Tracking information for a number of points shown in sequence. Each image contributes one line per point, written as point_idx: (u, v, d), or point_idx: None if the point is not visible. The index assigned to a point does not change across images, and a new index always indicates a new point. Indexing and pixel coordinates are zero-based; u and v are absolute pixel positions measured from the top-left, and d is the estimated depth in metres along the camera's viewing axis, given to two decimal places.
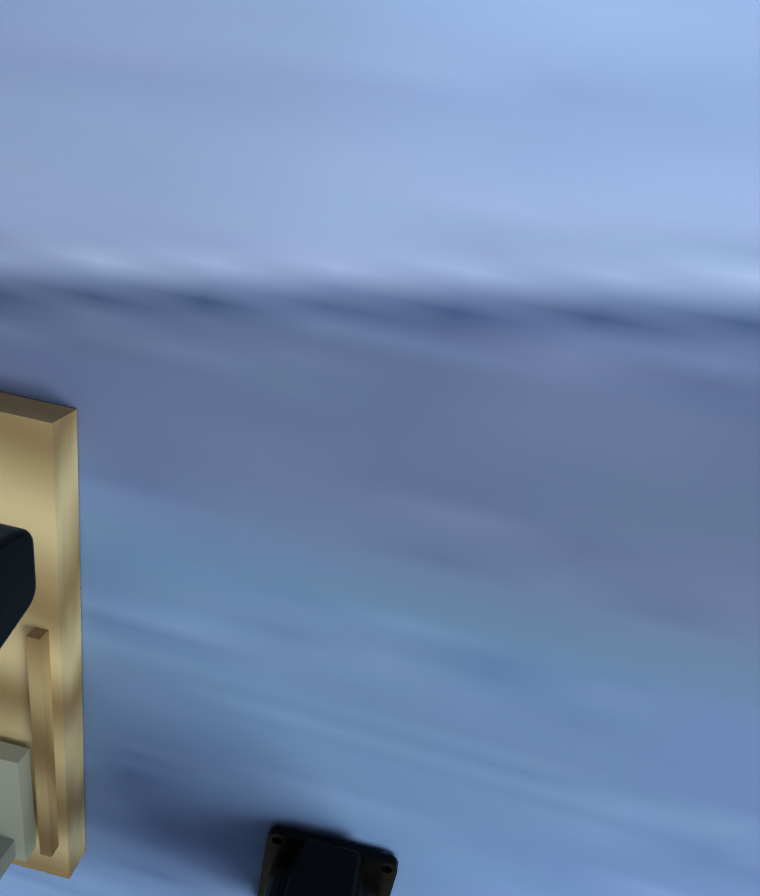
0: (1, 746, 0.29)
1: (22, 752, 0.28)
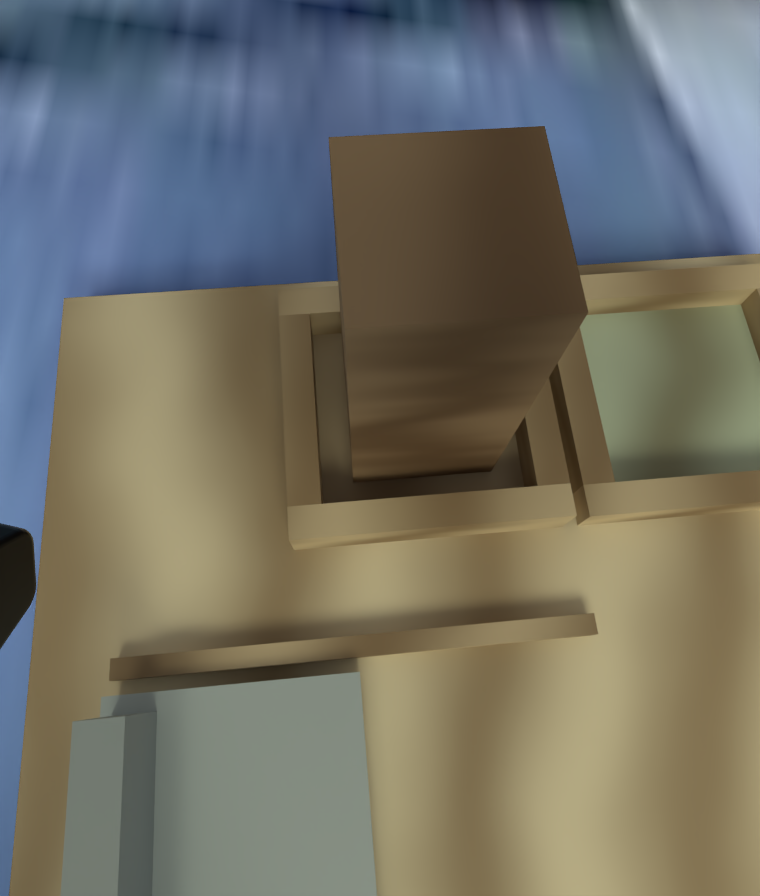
0: None
1: None
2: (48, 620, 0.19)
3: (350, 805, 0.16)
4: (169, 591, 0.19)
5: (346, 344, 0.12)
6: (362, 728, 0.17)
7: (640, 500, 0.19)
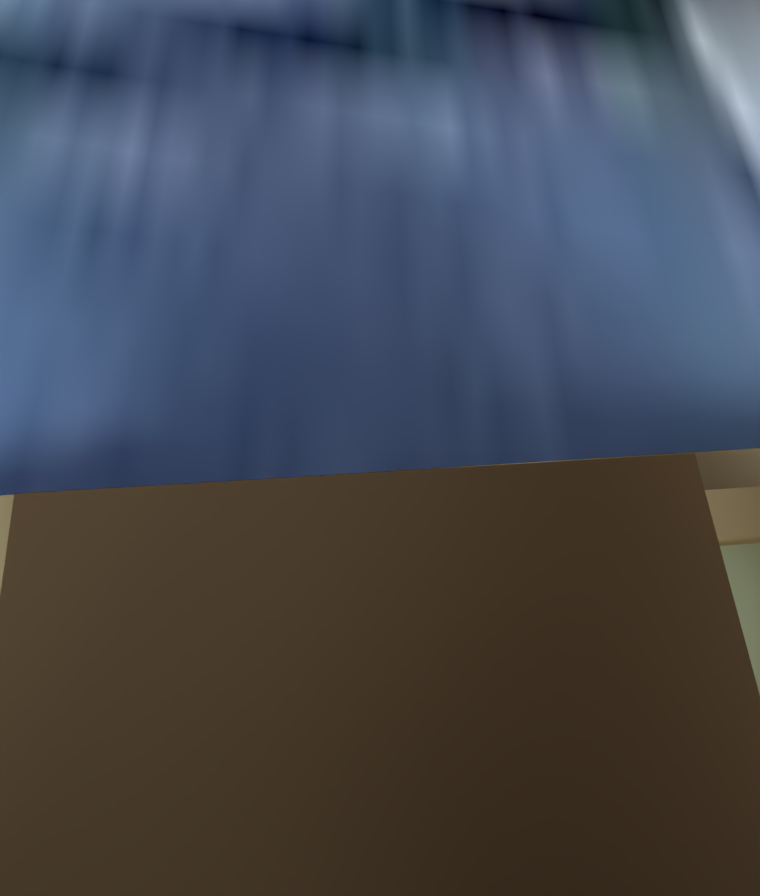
0: None
1: None
2: None
3: None
4: None
5: None
6: None
7: None
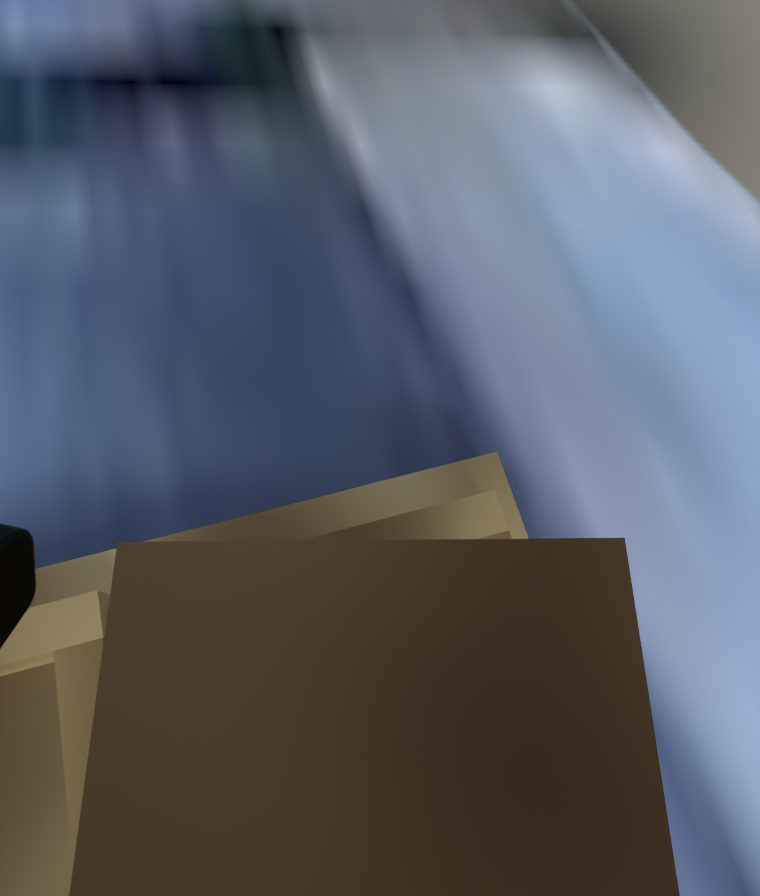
0: None
1: None
2: None
3: None
4: None
5: None
6: None
7: None
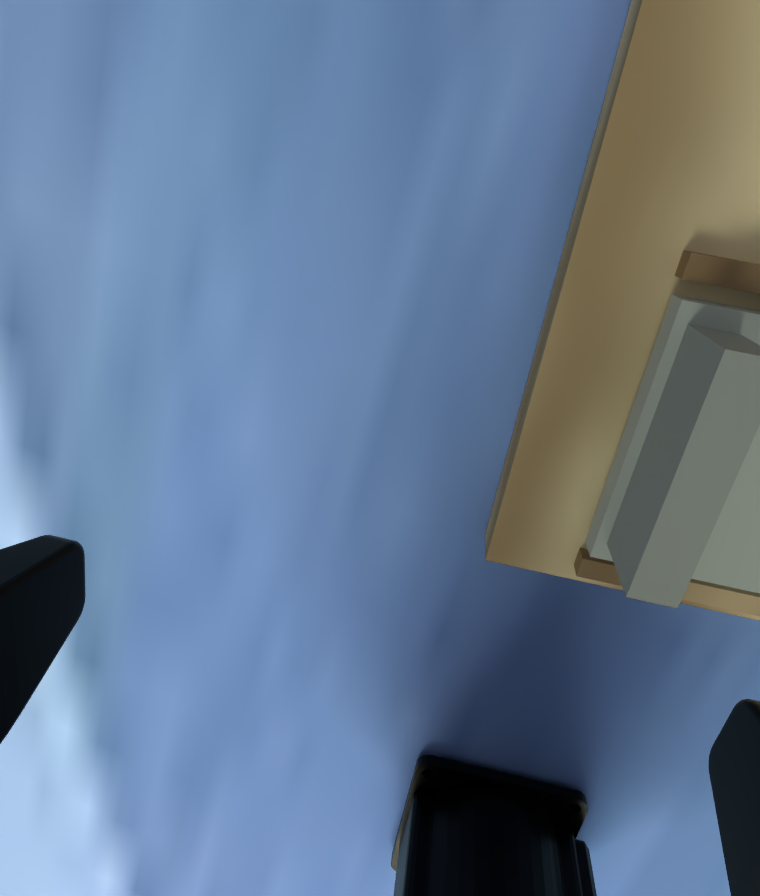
0: None
1: None
2: (612, 175, 0.14)
3: None
4: None
5: None
6: None
7: None
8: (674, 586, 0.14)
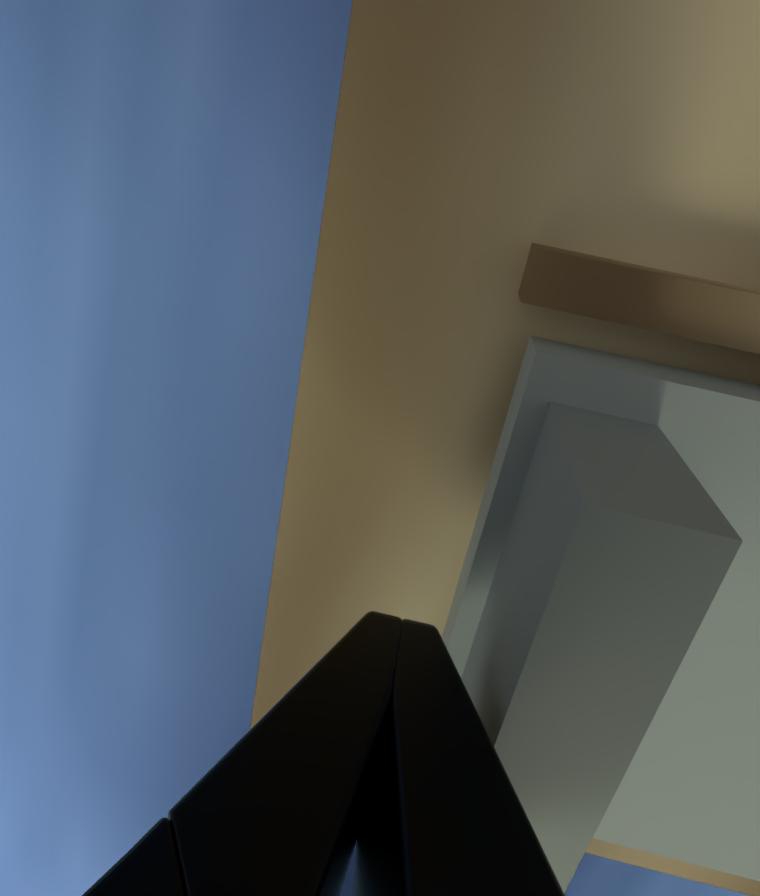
0: None
1: None
2: (378, 83, 0.07)
3: None
4: (718, 91, 0.07)
5: None
6: None
7: None
8: None
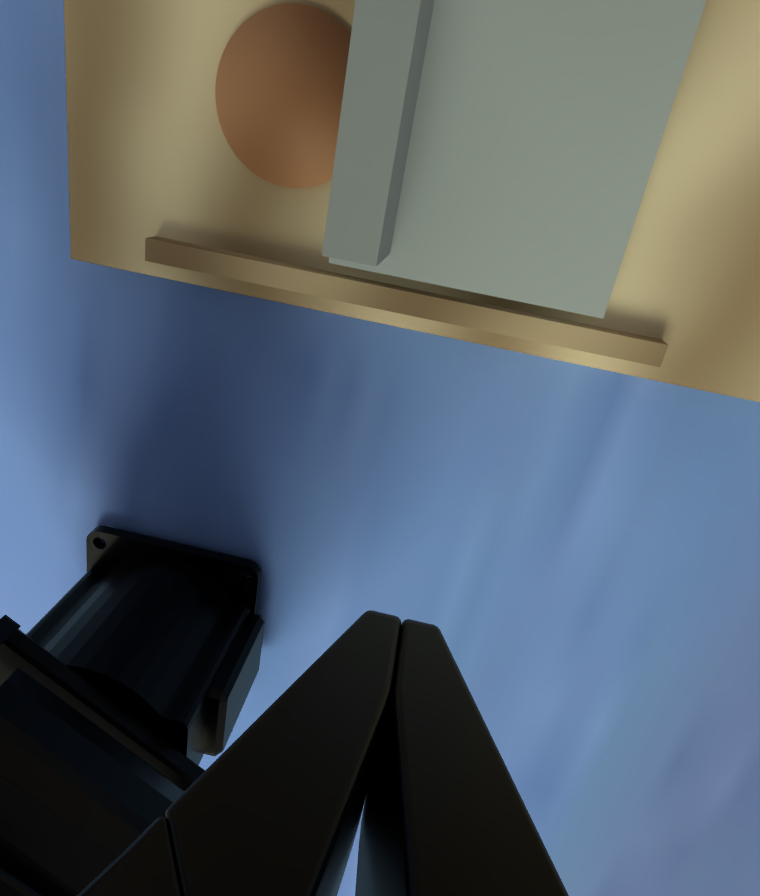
0: None
1: None
2: None
3: (634, 148, 0.14)
4: None
5: None
6: (684, 60, 0.13)
7: None
8: (368, 237, 0.13)
